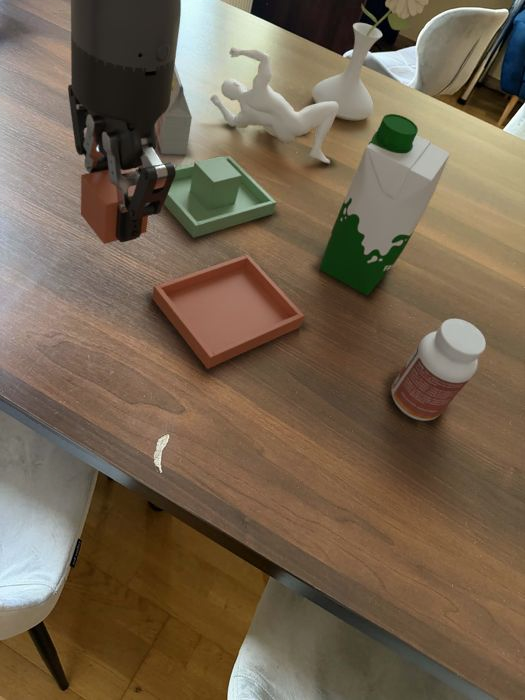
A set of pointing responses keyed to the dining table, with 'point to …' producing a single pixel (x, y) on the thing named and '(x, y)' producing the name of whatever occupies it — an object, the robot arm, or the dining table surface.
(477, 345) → the pill bottle
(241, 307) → the terracotta tray
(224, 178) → the sage block
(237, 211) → the sage tray
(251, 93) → the person figurine
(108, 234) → the terracotta block
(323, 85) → the flower in vase
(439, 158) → the soya milk
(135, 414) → the dining table surface
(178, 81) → the small milk carton
